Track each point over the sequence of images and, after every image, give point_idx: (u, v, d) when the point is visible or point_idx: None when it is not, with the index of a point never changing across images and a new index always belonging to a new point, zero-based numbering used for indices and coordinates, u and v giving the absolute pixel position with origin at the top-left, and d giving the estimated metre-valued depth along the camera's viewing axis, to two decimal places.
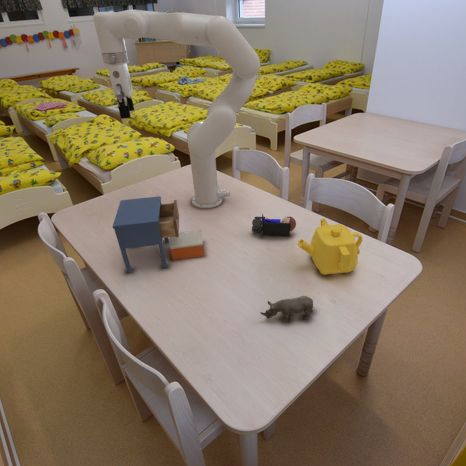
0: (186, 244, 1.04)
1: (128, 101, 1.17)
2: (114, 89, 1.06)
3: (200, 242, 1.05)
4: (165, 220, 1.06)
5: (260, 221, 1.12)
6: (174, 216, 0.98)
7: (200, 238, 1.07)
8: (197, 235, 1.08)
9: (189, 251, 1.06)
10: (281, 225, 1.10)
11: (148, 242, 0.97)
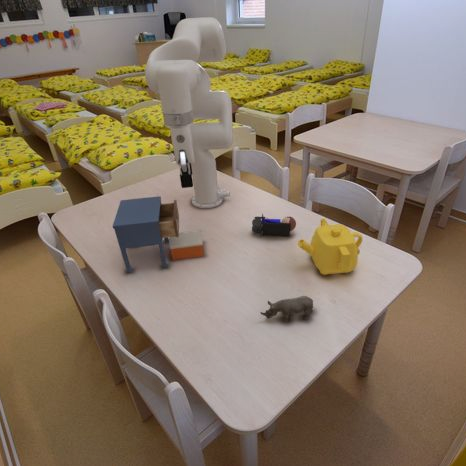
0: (186, 244, 1.04)
1: (186, 165, 0.98)
2: (176, 155, 0.87)
3: (200, 242, 1.05)
4: (165, 220, 1.06)
5: (260, 221, 1.12)
6: (174, 216, 0.98)
7: (200, 238, 1.07)
8: (197, 235, 1.08)
9: (189, 251, 1.06)
10: (281, 225, 1.10)
11: (148, 242, 0.97)
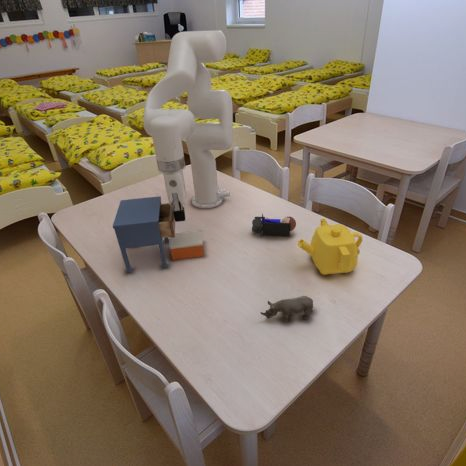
0: (186, 244, 1.04)
1: (180, 210, 1.01)
2: (169, 198, 0.93)
3: (200, 242, 1.05)
4: (161, 220, 1.06)
5: (260, 221, 1.12)
6: (170, 216, 0.98)
7: (200, 238, 1.07)
8: (197, 235, 1.08)
9: (189, 251, 1.06)
10: (281, 225, 1.10)
11: (148, 242, 0.97)
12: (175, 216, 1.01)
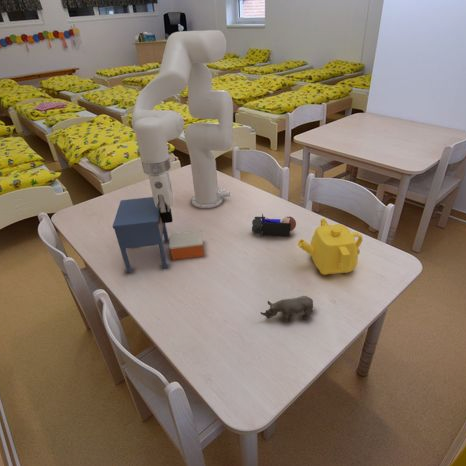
0: (186, 244, 1.04)
1: None
2: (155, 200, 0.93)
3: (200, 242, 1.05)
4: None
5: (260, 221, 1.12)
6: None
7: (200, 238, 1.07)
8: (197, 235, 1.08)
9: (189, 251, 1.06)
10: (281, 225, 1.10)
11: (148, 242, 0.97)
12: (162, 217, 1.01)
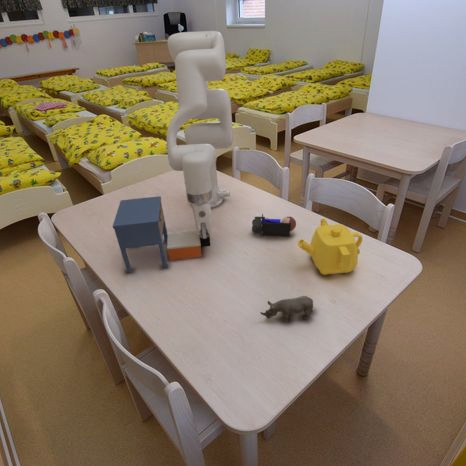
0: (184, 244, 1.04)
1: None
2: (198, 227, 1.00)
3: (198, 242, 1.05)
4: None
5: (260, 221, 1.12)
6: None
7: (198, 238, 1.07)
8: (195, 235, 1.08)
9: (187, 252, 1.05)
10: (281, 225, 1.10)
11: (148, 242, 0.97)
12: (201, 242, 1.08)
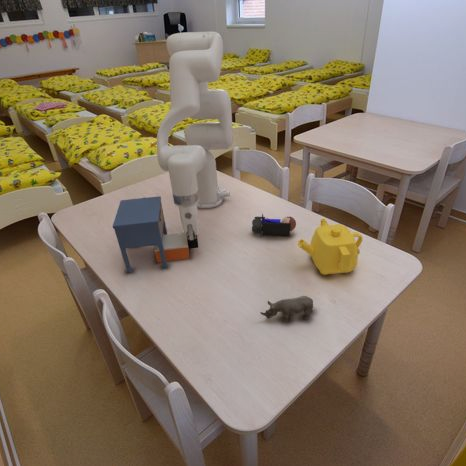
0: (171, 246, 1.04)
1: None
2: (184, 229, 0.99)
3: (185, 244, 1.04)
4: None
5: (260, 221, 1.12)
6: None
7: (185, 240, 1.06)
8: (183, 237, 1.08)
9: (174, 254, 1.05)
10: (281, 225, 1.10)
11: (148, 242, 0.97)
12: (189, 244, 1.07)
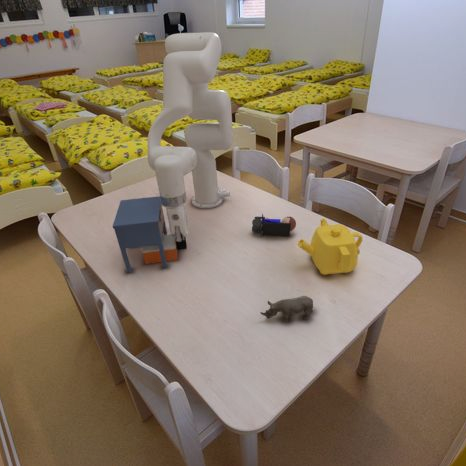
0: None
1: None
2: (172, 230, 0.99)
3: (173, 246, 1.04)
4: None
5: (260, 221, 1.12)
6: None
7: (173, 241, 1.06)
8: (171, 238, 1.07)
9: None
10: (281, 225, 1.10)
11: (148, 242, 0.97)
12: (177, 245, 1.07)
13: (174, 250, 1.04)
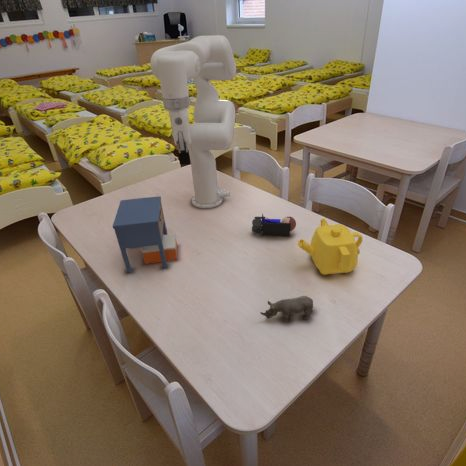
0: (158, 248, 1.03)
1: None
2: (175, 136, 0.97)
3: (173, 246, 1.04)
4: None
5: (260, 221, 1.12)
6: None
7: (173, 241, 1.06)
8: (171, 238, 1.07)
9: None
10: (281, 225, 1.10)
11: (148, 242, 0.97)
12: (180, 158, 1.05)
13: (174, 250, 1.04)
